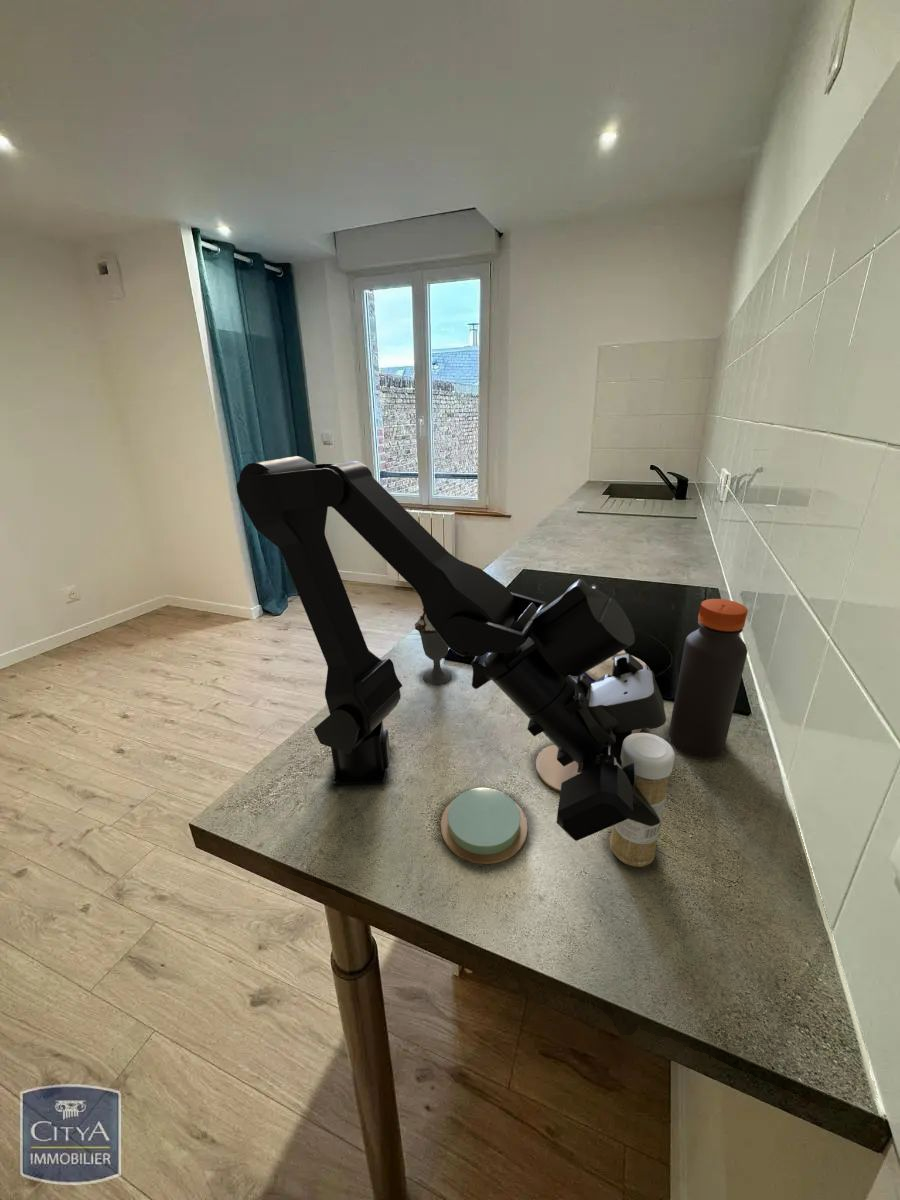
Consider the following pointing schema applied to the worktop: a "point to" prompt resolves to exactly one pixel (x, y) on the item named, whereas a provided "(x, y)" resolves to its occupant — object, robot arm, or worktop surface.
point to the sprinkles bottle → (651, 780)
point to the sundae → (433, 651)
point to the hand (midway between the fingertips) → (654, 805)
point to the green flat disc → (484, 821)
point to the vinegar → (709, 679)
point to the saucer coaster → (478, 857)
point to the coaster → (554, 768)
